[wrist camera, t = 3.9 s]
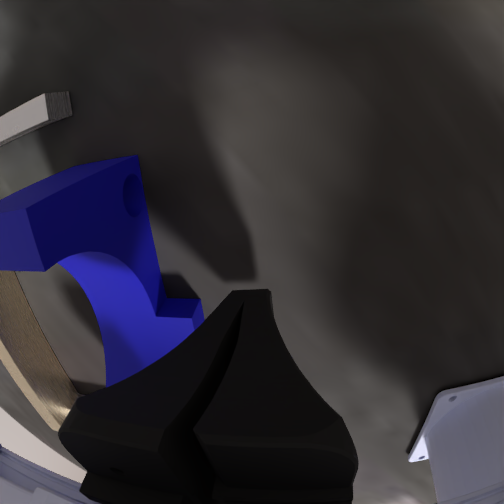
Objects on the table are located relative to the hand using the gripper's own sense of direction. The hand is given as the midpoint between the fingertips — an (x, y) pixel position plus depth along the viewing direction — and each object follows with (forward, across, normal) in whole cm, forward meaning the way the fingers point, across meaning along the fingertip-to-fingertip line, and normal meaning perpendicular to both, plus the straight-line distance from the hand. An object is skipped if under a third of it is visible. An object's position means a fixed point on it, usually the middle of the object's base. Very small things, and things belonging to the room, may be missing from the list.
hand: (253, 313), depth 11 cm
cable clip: (+2, +5, 0) cm, 5 cm away
